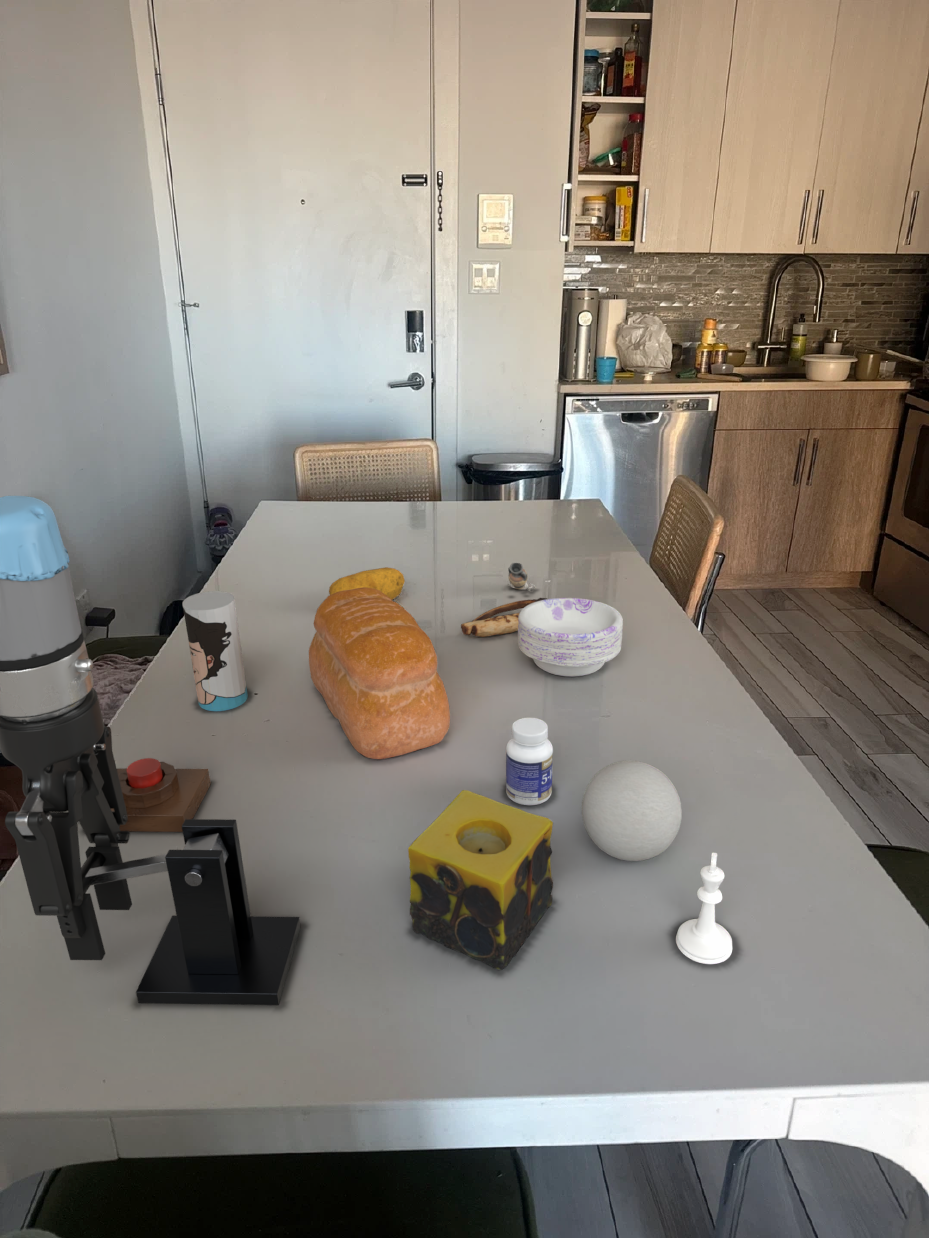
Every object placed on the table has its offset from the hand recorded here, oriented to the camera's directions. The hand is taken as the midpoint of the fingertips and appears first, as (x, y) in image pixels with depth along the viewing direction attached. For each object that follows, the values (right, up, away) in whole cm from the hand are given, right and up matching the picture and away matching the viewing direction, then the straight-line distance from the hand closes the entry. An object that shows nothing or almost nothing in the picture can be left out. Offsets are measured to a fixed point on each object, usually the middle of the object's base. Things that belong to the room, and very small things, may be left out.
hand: (102, 930), depth 76 cm
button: (-4, +9, +21) cm, 23 cm away
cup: (-2, +16, +46) cm, 48 cm away
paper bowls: (+47, +21, +54) cm, 74 cm away
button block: (-4, +6, +23) cm, 24 cm away
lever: (+5, +5, -3) cm, 8 cm away
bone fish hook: (+39, +26, +66) cm, 81 cm away
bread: (+20, +15, +42) cm, 49 cm away
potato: (+15, +29, +75) cm, 82 cm away
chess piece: (+53, -2, +2) cm, 53 cm away
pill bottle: (+39, +7, +24) cm, 46 cm away
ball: (+49, +3, +14) cm, 51 cm away
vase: (+41, +32, +79) cm, 95 cm away
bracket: (+10, -3, +1) cm, 11 cm away
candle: (+34, -1, +6) cm, 34 cm away
